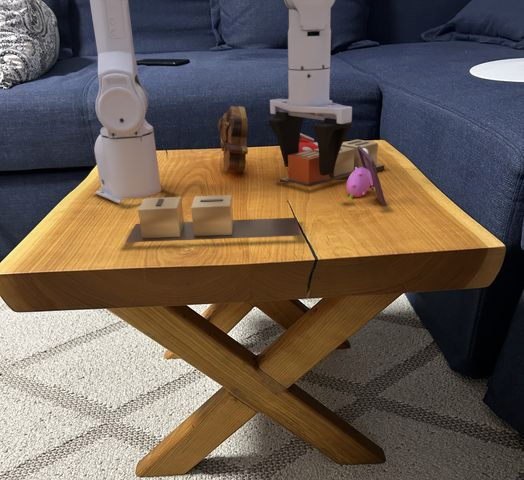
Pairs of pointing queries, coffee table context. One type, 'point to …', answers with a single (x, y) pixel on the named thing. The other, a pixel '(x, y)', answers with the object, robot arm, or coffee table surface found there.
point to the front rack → (202, 221)
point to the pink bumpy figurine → (364, 178)
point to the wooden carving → (234, 138)
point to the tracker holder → (307, 143)
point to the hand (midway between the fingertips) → (308, 169)
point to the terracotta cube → (305, 167)
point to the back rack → (346, 162)
